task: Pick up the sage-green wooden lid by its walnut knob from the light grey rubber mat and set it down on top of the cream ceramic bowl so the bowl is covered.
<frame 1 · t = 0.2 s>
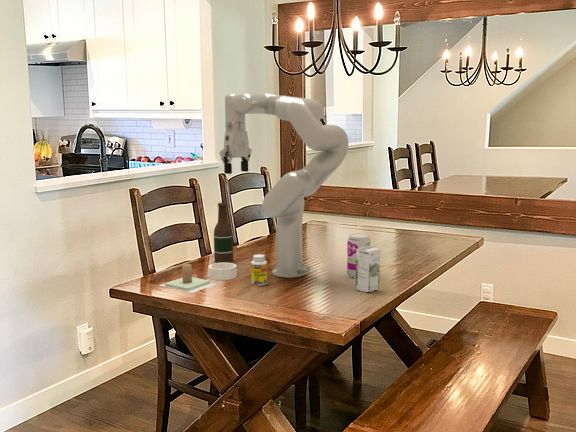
hand: (236, 172, 235), 36 cm above the table, tool pointing down, fingers open, 9 cm apart
supplement bottle: (259, 284, 215), on the table
syrup box: (367, 290, 206), on the table
beer bottle: (223, 262, 246), on the table
mat: (187, 286, 213), on the table
bowl: (222, 277, 223), on the table
lid: (187, 284, 213), point 1 cm above the table, touching mat
supplement can: (358, 276, 224), on the table
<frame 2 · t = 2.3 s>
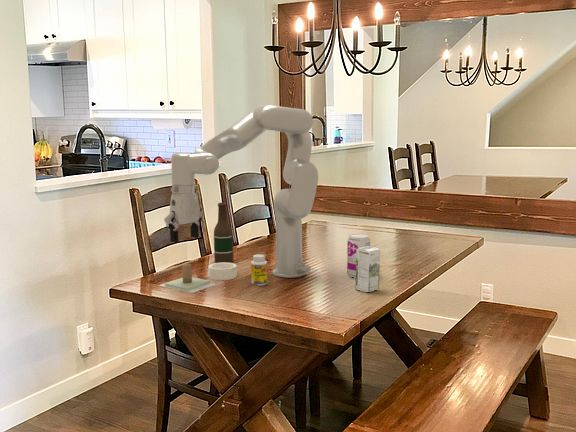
hand: (184, 239, 210), 17 cm above the table, tool pointing down, fingers open, 9 cm apart
nothing on the table moved.
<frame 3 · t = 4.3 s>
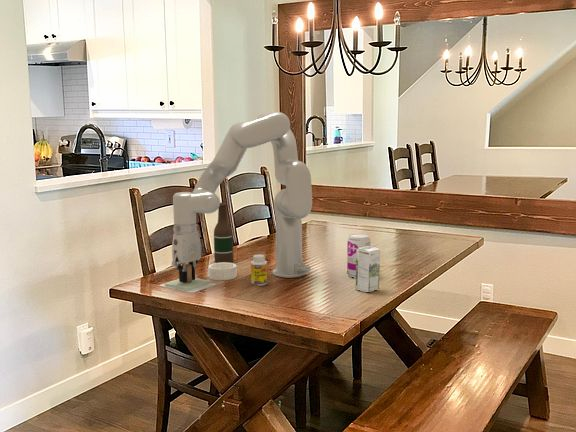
hand: (187, 280, 212), 2 cm above the table, tool pointing down, fingers closed on lid, 3 cm apart
lid: (187, 284, 213), point 1 cm above the table, touching gripper, mat
everything else where it was.
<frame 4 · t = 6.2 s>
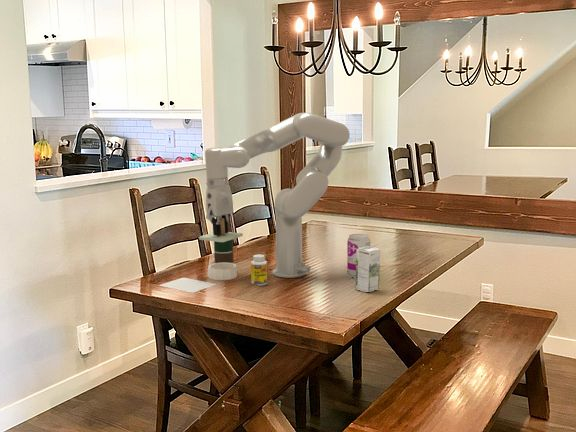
hand: (220, 233, 220), 17 cm above the table, tool pointing down, fingers closed on lid, 3 cm apart
lid: (221, 237, 220), point 15 cm above the table, touching gripper
everything else where it was.
when the fingers open (7 cm above the table, at t = 8.4 s): lid drops 1 cm, resting on bowl.
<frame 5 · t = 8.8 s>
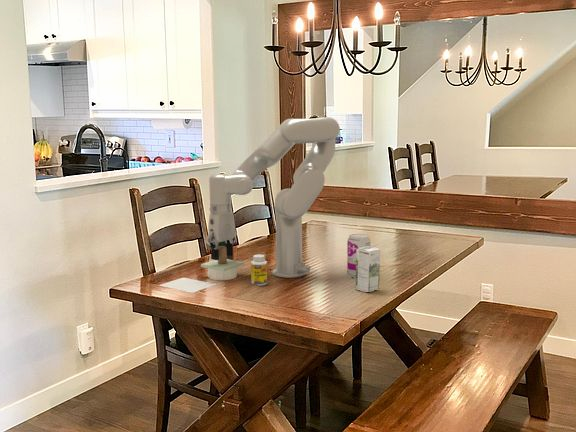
hand: (222, 257, 222), 8 cm above the table, tool pointing down, fingers open, 7 cm apart
lid: (222, 265, 222), point 4 cm above the table, touching bowl
everything else where it was.
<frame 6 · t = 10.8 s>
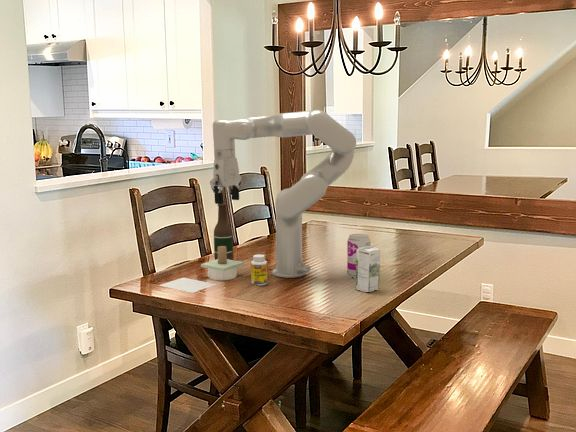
hand: (227, 201, 223), 27 cm above the table, tool pointing down, fingers open, 9 cm apart
nothing on the table moved.
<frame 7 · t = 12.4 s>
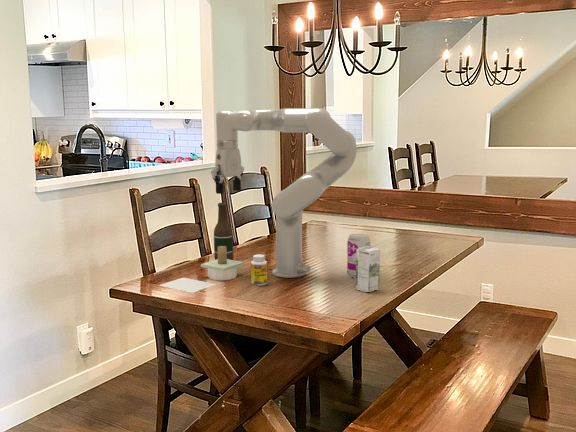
hand: (228, 192, 226), 30 cm above the table, tool pointing down, fingers open, 9 cm apart
nothing on the table moved.
at the end: lid 0.1 cm off-centre on the bowl, point 4.5 cm above the bowl's base; lid tilted 0°; the gripper is holding nothing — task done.
